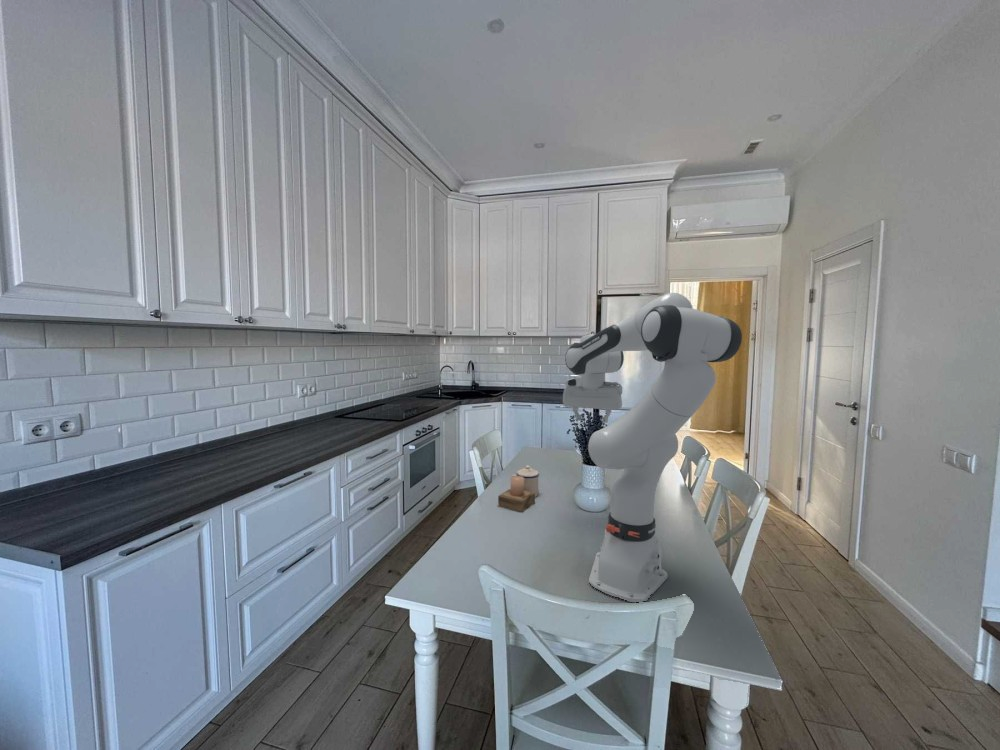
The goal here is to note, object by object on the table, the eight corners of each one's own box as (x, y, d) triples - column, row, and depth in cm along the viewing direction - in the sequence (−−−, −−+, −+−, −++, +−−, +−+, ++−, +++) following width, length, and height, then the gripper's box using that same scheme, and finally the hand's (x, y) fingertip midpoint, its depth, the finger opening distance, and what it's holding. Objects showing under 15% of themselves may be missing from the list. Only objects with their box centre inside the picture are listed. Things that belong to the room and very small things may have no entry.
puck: (518, 496, 144) (519, 480, 144) (507, 493, 147) (508, 478, 147) (526, 493, 148) (526, 477, 148) (515, 490, 151) (515, 474, 151)
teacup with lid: (542, 492, 160) (542, 464, 159) (534, 500, 152) (534, 470, 151) (515, 487, 166) (515, 460, 165) (506, 495, 157) (506, 466, 156)
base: (521, 512, 141) (521, 500, 141) (498, 506, 147) (498, 495, 146) (534, 503, 150) (534, 492, 149) (512, 497, 155) (512, 486, 155)
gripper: (624, 381, 133) (624, 422, 133) (567, 379, 144) (567, 417, 144) (619, 383, 127) (619, 425, 128) (560, 380, 138) (560, 420, 139)
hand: (591, 421), depth 136 cm, fingers open, 8 cm apart
